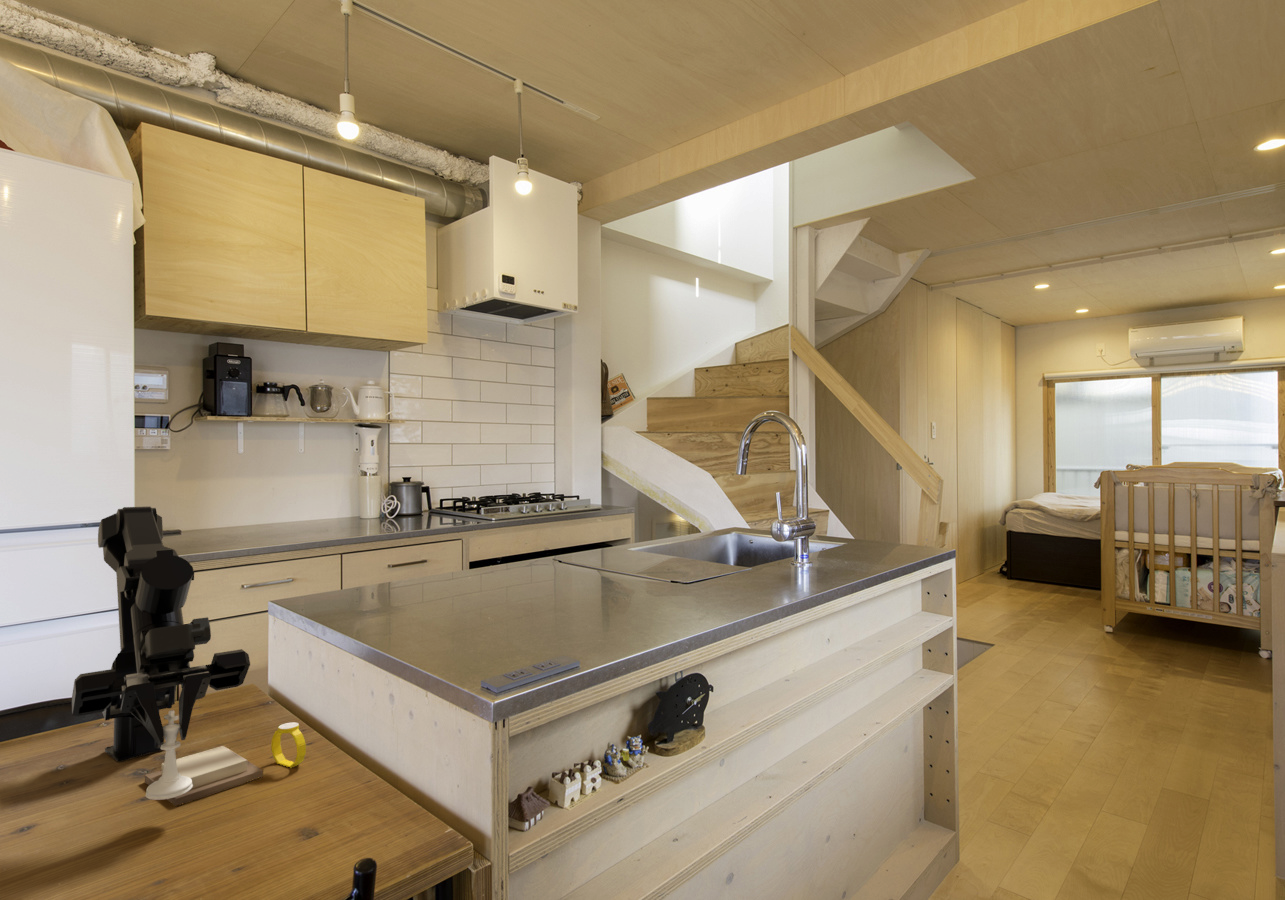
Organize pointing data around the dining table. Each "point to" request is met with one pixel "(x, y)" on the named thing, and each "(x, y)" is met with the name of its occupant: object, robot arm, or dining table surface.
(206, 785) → the build base
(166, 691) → the robot arm
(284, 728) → the watch
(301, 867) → the dining table surface
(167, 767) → the chess piece
